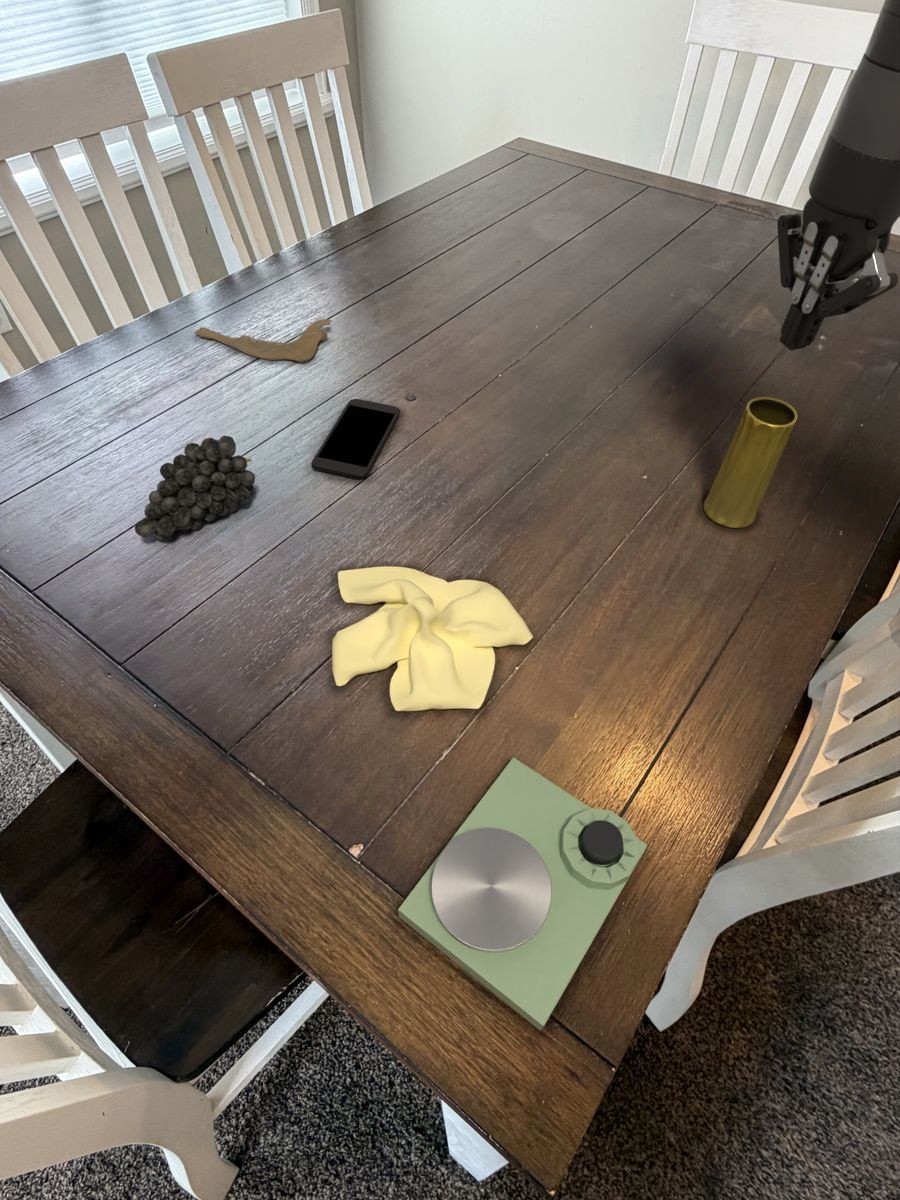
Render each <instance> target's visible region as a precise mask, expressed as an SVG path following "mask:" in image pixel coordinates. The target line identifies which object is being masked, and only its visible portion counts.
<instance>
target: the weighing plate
mask: <svg viewBox="0 0 900 1200" xmlns="http://www.w3.org/2000/svg"><path fill="white" fill-rule="evenodd" d="M447 844H448V843H447ZM447 844H446V845H447ZM445 847H446V846H445ZM445 847H444V848H445ZM444 848H443V849H444ZM443 849H442V851H441V852H442V853H441V852H440V853H441V854H440V853H439V854H440V856H439V855H438V856H439V858H438V860H437V862H436V864H435V867H434V870H433V874H432V880H431V896H432V902H433V906H434V909H435V912H436V915H437V917H438V919H439V921H440V922H441V924H442V925H443V927H444V928H445V929H446V931H447V932H448V933H449V934H450V935H451V936H452V937H453V938H454V939H455V940H457V941H458V942H460V943H461V944H463V945H465V946H467V947H469V948H471V949H474V950H477V951H480V952H486V953H502V952H507V951H511V950H513V949H516V948H518V947H520V946H522V945H524V944H525V943H527V942H528V941H529V940H531V939H532V938H533V937H534V936H535V935H536V934H537V933H538V931H539V930H540V928H541V927H542V925H543V924H544V922H545V920H546V917H547V915H548V912H549V909H550V905H551V898H552V886H551V880H550V875H549V872H548V869H547V867H546V865H545V862H544V861H543V859H542V857H541V856H540V854H539V853H538V852H537V851H536V849H535V848H534V847H533V846H532V845H531V844H530V843H528V842H527V841H526V840H525V839H523V838H521V837H520V836H518V835H516V834H514V833H512V832H509V831H506V830H502V829H497V828H481V829H476V830H472V831H469V832H466V833H464V834H462V835H460V836H459V837H457V838H456V839H454V840H453V841H452V842H451V843H450V844H448V845H447V847H446V848H445V849H444V850H443Z"/></svg>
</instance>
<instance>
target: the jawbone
mask: <svg viewBox="0 0 900 1200" xmlns="http://www.w3.org/2000/svg"><path fill="white" fill-rule="evenodd" d="M331 322H333V319H329V318H321V319H318V320H315V321H313V322H312V323H311V324H310V325H308V326H307V327H306V329H305V330H304V331H303V333H302V334H301V335H300V336H299V337H298V338H297V339H294V340H293V341H290V342H288V343H287V342H282V341H279V342H278V341H277V340H275V341H273V340H271V341H269V340H268V339H267V340H264V339H260V338H255V337H254V336H253V337H251V336H250V335H245V334H242V335H240V336H239V337H231V336H228V335H224V334H221V333H219V332H217V331H215V330H212V329H210V328H207V327H205V326H203V327H202V326H200V327H199V328H198V329H196V330H195V331H194V332H193V333H194V334H195V335H197V336H200V337H202V338H205V339H209V340H212V341H218V342H220V343H221V344H224V345H226V346H228V347H230V348H233V349H235V350H237V351H239V352H242V353H244V354H246V355H249V356H251V357H255V358H256V359H257V358H258V359H262V360H270V361H271V360H272V361H280V360H285V361H287V360H288V361H295V362H308V361H310V360H311V359H312V358H313V357H314V356H315V355H316V351H317V349H318V344H319V343H320V342H326V340H327V339H328V332H327V329H325V328H324V329H323V327H325V326H331V325H332V324H331ZM321 328H322V329H321ZM320 329H321V330H320Z"/></svg>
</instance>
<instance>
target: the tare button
mask: <svg viewBox="0 0 900 1200" xmlns="http://www.w3.org/2000/svg"><path fill="white" fill-rule="evenodd" d="M622 846H623V838H622V835H621V833H620V831H619V829H618V828H617V827H616V826H615V825H613V824H612V823H610V822H608V821H604V820H598V821H594V822H592V823H590V824H589V825H588V826H587V828H586V829H585V832H584V834H583V837H582V840H581V848H582V851H583V853H584V855H585V856H586V857H587V858H588V859H589V860H590V861H591V862H593V863H595V864H598V865H607V864H610V863H612V862H613V861H614V860H615V859H616V858H617V856H618V855H619V853H620V851H621V849H622Z"/></svg>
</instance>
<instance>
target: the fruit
mask: <svg viewBox="0 0 900 1200" xmlns="http://www.w3.org/2000/svg"><path fill="white" fill-rule="evenodd" d="M236 451H237V445H236V442H235V440H234V438H233V437H232V436H230V435H222V436H221V437H220V438H219V439H215V438H213V437H206V438H204V439H203V440H202V441H201V444H200V445H199V444H198V443H195V442H190V443H187V444H186V445H185V447H184V453H183V454H181V453H180V454H178V455H175V456H174V458H173V460H172V462H173V463H172V462H165V463H163V464H162V465H161V466H160V469H159V473H160V475H161V477H162V478H163V479H162V480H160V481H159V482H158V483H157V484H156V490H151V492H150V493H149V495H148V501H149V503H148V504H146V505H145V507H144V515H145V517H146V518H144V519H140V520H139V521H137V522H136V523H135V526H134V531H135V533H136V534H137V535H138V536H139V537H142V538H148V537H150V536H152V535H155V537H156V538H157V539H158V540H159V541H170V540H171V539H172V537H173V534H174V533H175V532H177V531H179V530H180V531H187V530H189V529H190V530H193V531H196V530H200V528H201V527H202V526H203V521H202V519H204V520H205V521H206V522H213V521H214V520H216V519H217V516H223V517H224V516H226V515H228V514H230V513H233V512H235V511H236V510H237V509H238V504H246V503H247V502H249V501H250V500H251V499H250V498H252V497H253V496H254V495H255V488H254V483H255V480H256V477H255V473H254V472H253V471H251V470H247V467H248V463H249V462H252V461H253V460H252V459H251V458H246V457H245V456H242V455H240V454H238V455H235V454H236Z"/></svg>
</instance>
